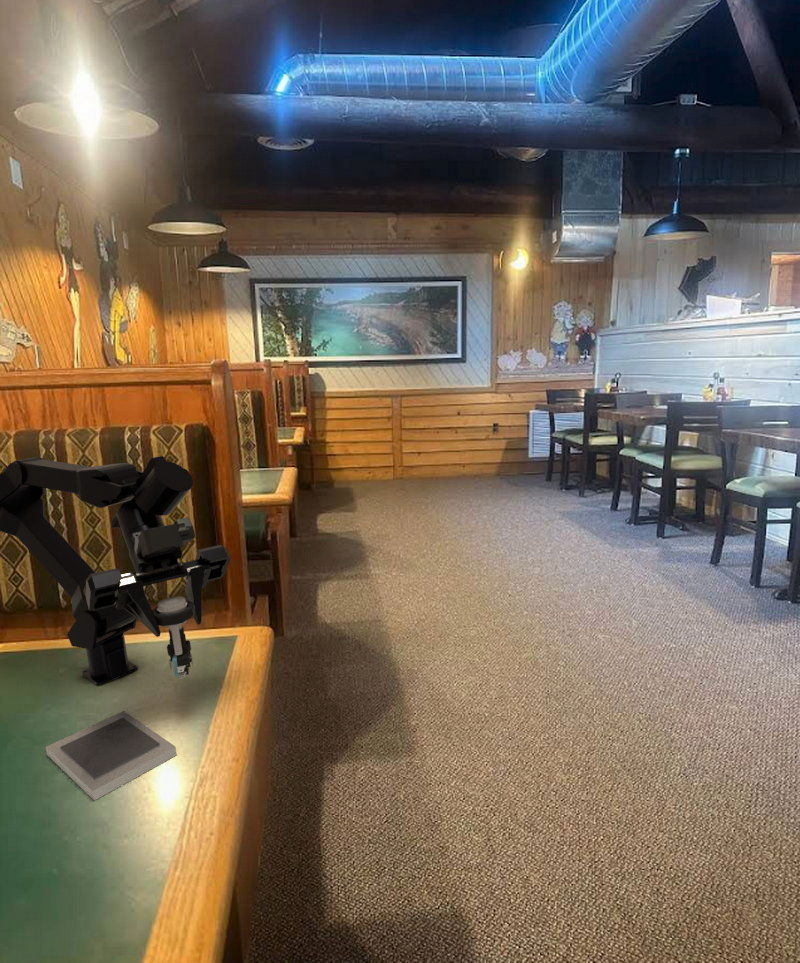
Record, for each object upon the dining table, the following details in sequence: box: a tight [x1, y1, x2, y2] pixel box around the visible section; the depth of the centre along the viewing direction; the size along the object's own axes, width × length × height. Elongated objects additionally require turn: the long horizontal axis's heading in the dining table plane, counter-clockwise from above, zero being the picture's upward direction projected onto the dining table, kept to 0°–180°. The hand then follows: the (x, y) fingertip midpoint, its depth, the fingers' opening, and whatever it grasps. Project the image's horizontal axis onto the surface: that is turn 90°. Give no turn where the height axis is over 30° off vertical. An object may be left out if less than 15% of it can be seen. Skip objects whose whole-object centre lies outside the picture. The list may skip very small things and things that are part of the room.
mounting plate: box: [45, 710, 177, 801], centre depth 76 cm, size 14×10×1 cm
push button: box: [152, 595, 194, 680], centre depth 82 cm, size 7×5×10 cm
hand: (179, 629), depth 81 cm, fingers closed on push button, 5 cm apart
